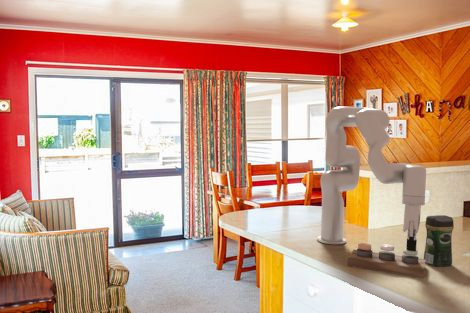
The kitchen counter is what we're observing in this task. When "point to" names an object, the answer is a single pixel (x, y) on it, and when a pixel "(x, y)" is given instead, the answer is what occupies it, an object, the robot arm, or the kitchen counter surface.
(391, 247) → the white button
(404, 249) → the sage button
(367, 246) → the terracotta button
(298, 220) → the kitchen counter surface
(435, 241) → the coffee jar
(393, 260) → the button board
